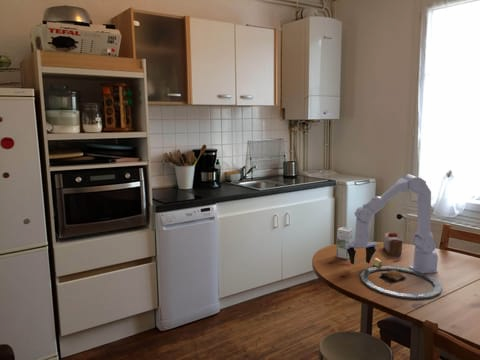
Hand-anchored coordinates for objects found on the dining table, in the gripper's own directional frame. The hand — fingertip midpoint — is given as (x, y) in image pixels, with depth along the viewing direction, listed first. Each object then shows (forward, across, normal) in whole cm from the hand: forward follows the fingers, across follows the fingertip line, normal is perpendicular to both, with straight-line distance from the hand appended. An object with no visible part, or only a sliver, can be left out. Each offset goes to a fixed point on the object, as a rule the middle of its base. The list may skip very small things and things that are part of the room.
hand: (359, 263), depth 179 cm
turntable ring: (+3, -10, +14) cm, 17 cm away
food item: (+3, -28, -20) cm, 35 cm away
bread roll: (+3, -9, +12) cm, 15 cm away
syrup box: (+3, 0, -16) cm, 16 cm away
